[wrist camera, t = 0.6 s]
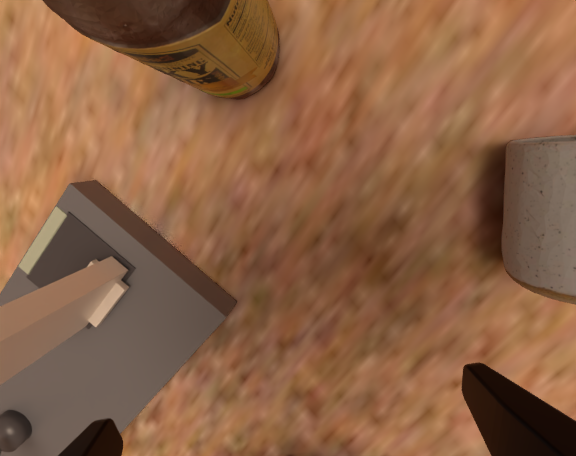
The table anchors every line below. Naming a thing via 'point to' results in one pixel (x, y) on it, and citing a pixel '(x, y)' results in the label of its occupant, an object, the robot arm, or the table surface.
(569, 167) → the ceramic mug
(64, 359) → the switch panel
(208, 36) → the sauce bottle
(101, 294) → the ivory paddle
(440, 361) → the table surface
